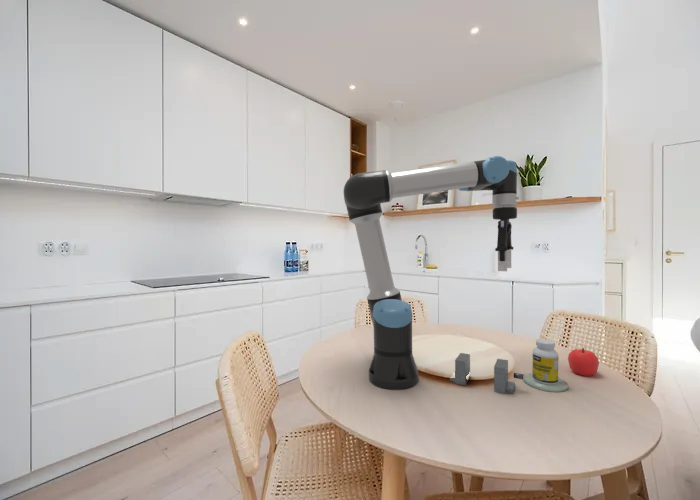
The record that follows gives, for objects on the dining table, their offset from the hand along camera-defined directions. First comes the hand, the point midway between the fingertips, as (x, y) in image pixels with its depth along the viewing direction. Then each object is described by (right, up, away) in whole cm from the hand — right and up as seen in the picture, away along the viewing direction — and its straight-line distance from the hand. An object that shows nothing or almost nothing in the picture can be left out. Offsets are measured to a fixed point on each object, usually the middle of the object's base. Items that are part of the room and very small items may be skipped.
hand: (504, 269), depth 113 cm
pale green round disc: (+4, -32, -17) cm, 37 cm away
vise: (-14, -32, -17) cm, 39 cm away
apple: (+19, -32, -10) cm, 39 cm away
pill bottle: (+4, -32, -17) cm, 36 cm away
